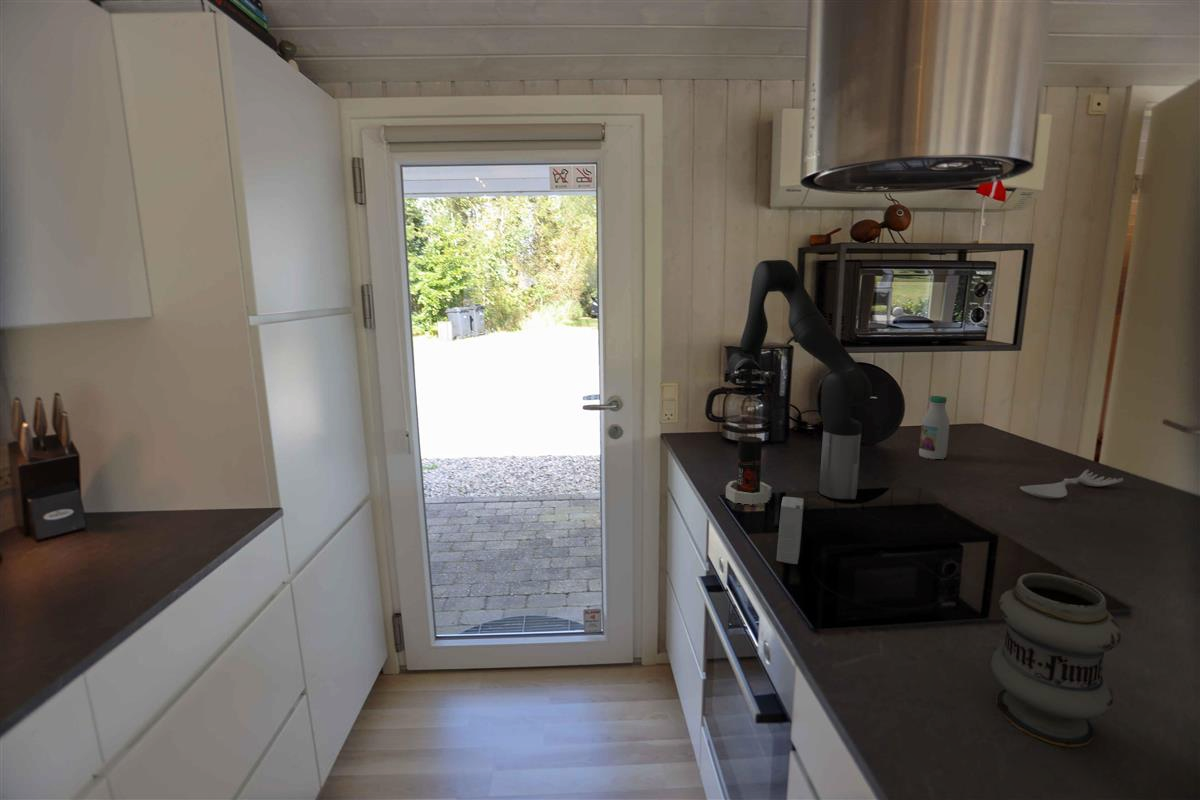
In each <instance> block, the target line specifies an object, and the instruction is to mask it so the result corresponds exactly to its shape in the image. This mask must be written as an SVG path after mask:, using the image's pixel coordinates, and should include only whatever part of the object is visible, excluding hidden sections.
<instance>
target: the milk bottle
mask: <svg viewBox="0 0 1200 800" xmlns="http://www.w3.org/2000/svg"><path fill="white" fill-rule="evenodd" d="M947 399H948V398H947V397H946V396H942V395H932V396H931V395H930V397H929V407H928V410H927V412H926V413H925V415H924V416H923V418H922V423H921V430H920V438H919V450H918V455H919V456H920V457H922V458H925V459H928V458H929V459H928V460H935V459H941V460H945V459H946V458H947V454H948V453H947V452H948V444H949V443H948V442H949V434H950V432H949V431H950V419H949V416H948V413H947V411H946V405H947ZM944 458H945V459H944Z"/></svg>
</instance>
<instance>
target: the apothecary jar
mask: <svg viewBox="0 0 1200 800" xmlns="http://www.w3.org/2000/svg"><path fill="white" fill-rule="evenodd" d="M1016 582H1017V583H1016V585H1015V586H1014V587H1012V588H1009V589H1007V590H1006V591H1005V592H1003V593H1002V594H1001V596H999V599H998V610H999V613H1000V615H1001V617H1002V619H1003V620H1004V621H1005V622H1006V623H1007V624H1006V634H1005V640H1004V644H1002V645H1000V646H998V647H997V648H996V649H995V650H994V651H993V653H992V655H991V658H990V659H991V660H990V666H991V667H990V668H991V671H992V673H993V676H994V677H995V679H996V680H997V682H998V684H1000V685H1001V686H1002V688H1003V690H1001V691H999V692H998V693H997V694H996V698H995V705H996V707H998V709H1000V710H1001V711H1002V712H1003V713H1004V716H1003V717H1004V718H1005V720H1007V721H1008V722H1009V723H1010V724H1011V725H1012V726H1014V727H1016V729H1018V730H1019V731H1021V732H1023V733H1025V734H1027V735H1029V736H1031V737H1033V738H1036V739H1038V740H1039V741H1043V742H1045V743H1048V744H1051V745H1055V746H1060V747H1064V748H1065V747H1066V748H1067V747H1068V748H1079V747H1083V746H1087V745H1088V744H1090V743H1091V742H1092V741H1093V739H1094V730H1093V729H1094V728H1093V727H1092V725H1091V724H1090V723H1089V722H1090V721H1089V719H1095V718H1098V717H1101V716H1103V715H1104V714H1106V713H1107V712H1108V711H1110V709H1111V707H1112V706H1113V701H1114V695H1113V690H1112V687H1111V685H1110V683H1109V682H1108V680H1107V678H1106V677H1105V676H1104V675H1103V665H1104V656H1105V653H1106V652H1109V651H1111V650H1113V649H1114V648H1116V647H1117V646H1118V645H1119V643H1120V641H1121V638H1122V629H1121V628H1120V625H1119V623H1118V621H1117V620H1116V618H1115V617H1114V616H1113V615H1112V614H1111V613H1110V612H1109V611H1108V610H1107V600H1106V598H1105V595H1104V594H1103V593H1102V592H1100V591H1099V590H1098V589H1096V588H1095V587H1093V586H1092V585H1090V584H1087V583H1085V582H1082V581H1079V580H1077V579H1074V578H1070V577H1066V576H1062V575H1060V574H1053V573H1045V572H1030V573H1029V572H1028V573H1025V574H1022V575H1021V576H1019V578H1018V579H1017V581H1016Z"/></svg>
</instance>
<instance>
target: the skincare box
mask: <svg viewBox="0 0 1200 800" xmlns="http://www.w3.org/2000/svg"><path fill="white" fill-rule="evenodd" d="M781 499H782V500H781V505H780V515H779V524H778V525H779V526H778V536H777V537H778V538H777V547H776V548H777V549H776V559H775V560H776V561H777V562H780V563H786V564H792V565H798V563H799V558H800V550H801V538H802V529H803V528H802V527H803V515H804V513H803V512H804V503H805V501H804V498H802V497H801V498H800V497H793V496H783V497H782V498H781Z"/></svg>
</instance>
